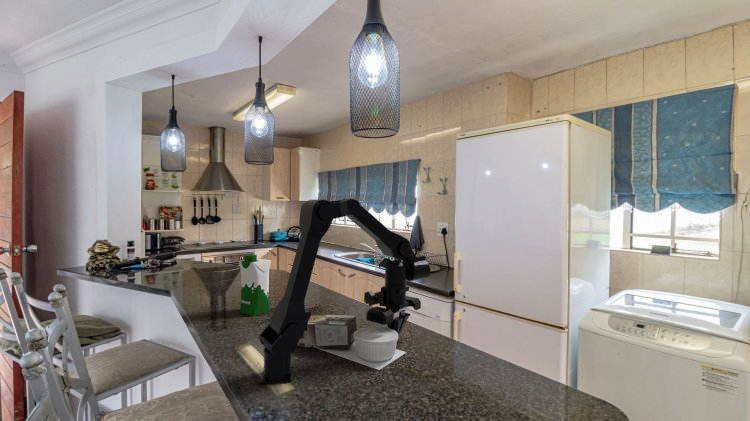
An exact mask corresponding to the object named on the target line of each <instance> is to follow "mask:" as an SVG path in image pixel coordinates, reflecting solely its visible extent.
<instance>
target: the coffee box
mask: <svg viewBox="0 0 750 421" xmlns="http://www.w3.org/2000/svg"><path fill="white" fill-rule="evenodd" d="M357 330H358V329H357V316H356V315H344V314H342V315H341V314H314V313H313V314H312V313H311V316H310V319H309V321H308V324H307V331H304V334H303V336H302V338H301V339H299V342H298V345H297V348H298V347H299V348H315V349H317V348H327V349H342V350H349V348H350V347H351V345H352V344H353V343H354V341H355V340H354V333H355V331H357Z"/></svg>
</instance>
